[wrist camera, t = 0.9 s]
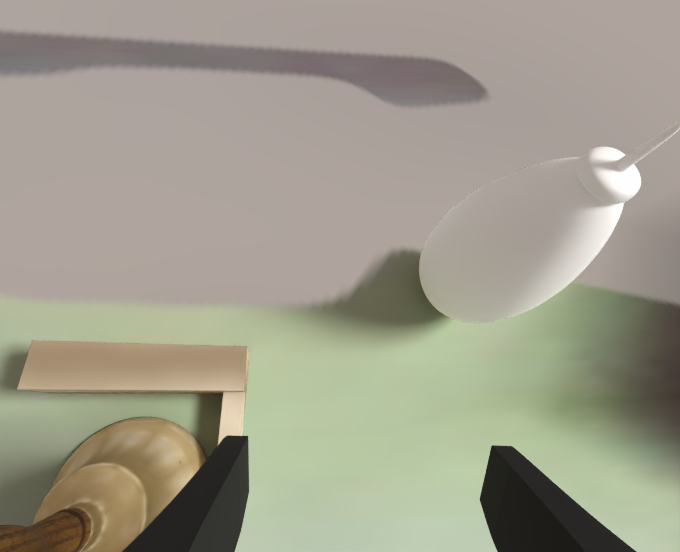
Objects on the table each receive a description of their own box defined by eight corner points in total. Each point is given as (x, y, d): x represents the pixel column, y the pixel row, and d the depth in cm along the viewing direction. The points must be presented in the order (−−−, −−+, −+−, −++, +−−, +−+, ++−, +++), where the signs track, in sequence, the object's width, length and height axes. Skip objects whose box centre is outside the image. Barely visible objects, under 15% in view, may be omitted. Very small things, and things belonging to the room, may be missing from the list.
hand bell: (7, 525, 19) (-929, 925, 4) (132, 388, 22) (-129, 333, 7) (132, 626, 18) (-410, 1492, 4) (240, 471, 21) (190, 586, 7)
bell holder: (221, 674, 18) (214, 719, 15) (-38, 708, 16) (-101, 768, 13) (249, 354, 24) (247, 346, 21) (61, 350, 22) (32, 340, 19)
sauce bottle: (457, 234, 31) (678, 27, 14) (506, 315, 29) (826, 182, 12) (381, 263, 28) (542, 53, 12) (428, 354, 26) (700, 252, 10)
